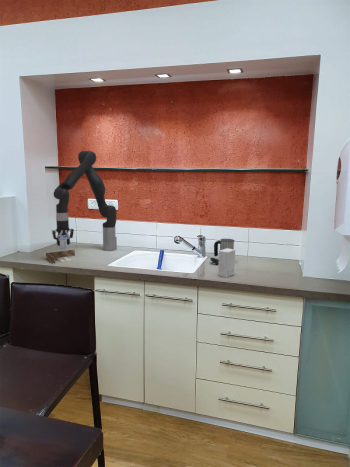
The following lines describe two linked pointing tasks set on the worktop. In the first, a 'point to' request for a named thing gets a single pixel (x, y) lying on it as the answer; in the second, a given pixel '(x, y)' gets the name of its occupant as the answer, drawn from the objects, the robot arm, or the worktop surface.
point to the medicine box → (63, 242)
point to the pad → (64, 259)
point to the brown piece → (59, 255)
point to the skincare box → (226, 262)
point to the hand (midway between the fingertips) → (63, 245)
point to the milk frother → (222, 247)
